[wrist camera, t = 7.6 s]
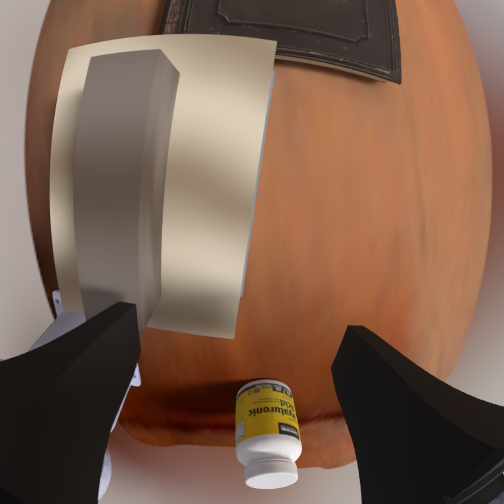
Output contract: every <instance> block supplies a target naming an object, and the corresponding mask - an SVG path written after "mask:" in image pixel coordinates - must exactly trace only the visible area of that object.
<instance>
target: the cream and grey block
mask: <svg viewBox="0 0 504 504" xmlns="http://www.w3.org/2000/svg"><path fill="white" fill-rule="evenodd" d="M276 46H277V41H271V40H265V39H257V38H249V37H240V36H228V35H211V34H168V35H152V36H140V37H131V38H123V39H116V40H110V41H104V42H99V43H94V44H89V45H84V46H80V47H76V48H72V49H69V51H68V55H67V58H66V62H65V66H64V70H63V74H62V79H61V83H60V88H59V93H58V99H57V105H56V111H55V118H54V126H53V135H52V145H51V160H50V218H51V233H52V244H53V253H54V261H55V268H56V275H57V281H58V287H59V292H60V297H61V302H62V307H63V308H64V309H68V310H71V311H75V312H79V313H83V314H85V318H86V321H87V320H89V319H90V318H92V317H94V316H95V315H97V314H99V313H100V312H102V311H103V310H105V309H107V308H108V307H110V306H112V305H113V304H115V303H117V302H119V301H122V302H127V303H133V304H136V308H137V320H138V330H139V333H142V334H143V332H144V330H145V328H146V327H150V328H156V329H162V330H168V331H175V332H181V333H188V334H196V335H203V336H211V337H220V338H229V339H234V335H235V328H236V321H237V313H238V306H239V299H240V292H241V285H242V277H243V270H244V263H245V256H246V249H247V242H248V235H249V228H250V221H251V214H252V207H253V200H254V193H255V186H256V179H257V172H258V165H259V159H260V152H261V145H262V138H263V131H264V125H265V118H266V111H267V105H268V98H269V91H270V85H271V78H272V72H273V65H274V59H275V52H276Z"/></svg>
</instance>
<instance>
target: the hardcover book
mask: <svg viewBox="0 0 504 504" xmlns="http://www.w3.org/2000/svg"><path fill="white" fill-rule="evenodd" d="M168 34H211V35H228V36H240V37H249V38H257V39H265V40H271V41H277V46H276V52H275V59H282V60H289V61H296V62H302V63H308V64H314V65H319V66H324V67H329V68H333V69H338V70H342V71H346V72H350V73H354V74H358V75H361V76H365V77H368V78H372V79H375V80H378V81H381V82H384V83H387V82H389V81H391V82H394V83H397V84H399V85H400V84H402V83H401V51H400V37H399V27H398V18H397V10H396V3H395V0H167V1H166V5H165V9H164V14H163V18H162V23H161V27H160V32H159V35H168Z"/></svg>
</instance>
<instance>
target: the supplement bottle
mask: <svg viewBox="0 0 504 504" xmlns="http://www.w3.org/2000/svg"><path fill="white" fill-rule="evenodd" d="M301 451H302V445H301V439H300V434H299V428H298V423H297V418H296V413H295V407H294V402H293V396H292V393H291V390H290V389H289V387H288V386H287V385H285V384H284V383H282V382H279V381H276V380H269V379H264V380H256V381H253V382H250V383H248V384H246V385H244V386H243V387H242V388H241V389H240V390H239V392H238V393H237V397H236V456H237V459H238V460H239V461H240V462H241V463H242V464H243V465H245V466H246V467H245V483H246V484H247V485H248V486H250V487H253V488H258V489H274V488H281V487H285V486H288V485H291V484H293V483H294V482H296V481H297V479H298V474H297V467H296V464H295V462H294V461H295V460H297V458H298V457H299V456H300V454H301Z"/></svg>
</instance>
